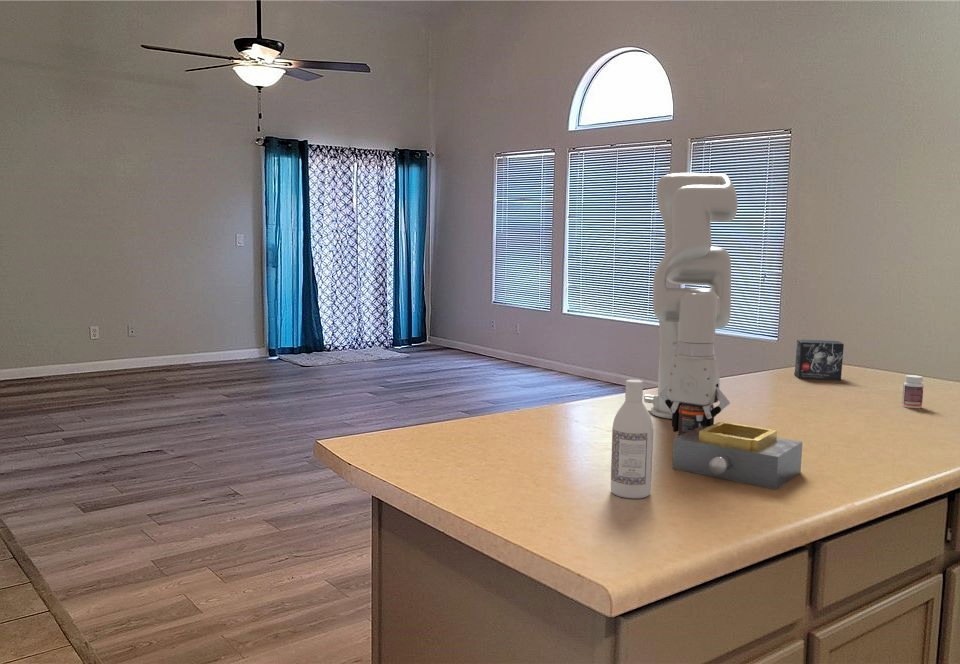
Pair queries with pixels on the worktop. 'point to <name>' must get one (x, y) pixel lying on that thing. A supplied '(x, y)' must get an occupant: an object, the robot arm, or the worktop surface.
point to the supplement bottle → (690, 417)
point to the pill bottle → (912, 392)
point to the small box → (819, 359)
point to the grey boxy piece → (738, 454)
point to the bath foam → (632, 446)
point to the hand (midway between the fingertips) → (692, 432)
